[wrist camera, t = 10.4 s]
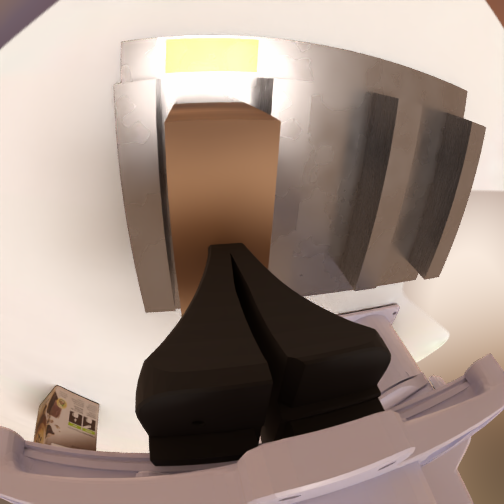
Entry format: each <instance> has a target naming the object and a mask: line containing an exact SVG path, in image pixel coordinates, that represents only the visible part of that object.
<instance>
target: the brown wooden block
mask: <svg viewBox="0 0 504 504" xmlns="http://www.w3.org/2000/svg"><path fill="white" fill-rule="evenodd" d="M164 123H165V151H166V170H167V185H168V199H169V211H170V222H171V233H172V243H173V252H174V260H175V269H176V277H177V284H178V292H179V299H180V306H181V313H182V316H183V314H184V313H185V311H186V309H187V308H188V306H189V304H190V302H191V301H192V299H193V297H194V295H195V293H196V290H197V288H198V286H199V283H200V281H201V278H202V276H203V272H204V269H205V266H206V262H207V258H208V247H209V246H210V245H215V244H230V243H243V244H244V245H245V246H246V247H247V248H248V249H249V250H250V252H251V253H252V254H253V255H254V256H255V257H256V258H257V259H258V260H259V261H260V262H261V263H262V264H263V265H264V266H265V267H266V268H267V269H268V266H269V256H270V245H271V235H272V224H273V213H274V201H275V190H276V178H277V166H278V154H279V142H280V129H281V120H279V119H277V118H275V117H273V116H271V115H269V114H267V113H265V112H263V111H261V110H260V109H258V108H256V107H254V106H252V105H249V104H247V103H245V102H208V103H182V104H174V105H173V106H172V108H171V110H170V112H169V114H168V116H167V118H166V120H165V122H164Z"/></svg>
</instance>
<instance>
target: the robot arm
mask: <svg viewBox="0 0 504 504" xmlns="http://www.w3.org/2000/svg"><path fill="white" fill-rule="evenodd" d="M399 308H400V307H399V306H398V305H397V304H396V305H391V306H386V307H381V308H376V309H371V310H366V311H360V312H355V313H350V314H344V315H339V316H338V315H336V314H334V313H331V312H329V311H327V310H325V309H323V308H321V307H320V306H318V305H316V304H314V303H312V302H311V301H309V300H307V299H306V298H304V297H302V296H301V295H299V294H298V293H297V292H295V291H294V290H292V289H291V288H289V287H288V286H287V285H285V284H284V283H283V282H282V281H280V280H279V279H278V278H277V277H276V276H275V275H273V274H272V273H271V272H270V271H269V270H268V269H267V268H266V267H265V266H264V265H263V264H262V263H261V262H260V261H259V260H258V259H257V258H256V257H255V256H254V255H253V254H252V253H251V252H250V250H249V249H248V248H247V247H246V246H245V245H244V244H243V243H230V244H215V245H210V246H209V247H208V258H207V262H206V266H205V269H204V272H203V276H202V278H201V281H200V283H199V286H198V288H197V290H196V293H195V295H194V297H193V299H192V301H191V302H190V304H189V306H188V308H187V309H186V311H185V313H184V314H183V316H182V317H181V319H180V320H179V322H178V323H177V325H176V326H175V327H174V329H173V330H172V331H171V332H170V334H169V335H168V336H167V337H166V339H165V340H164V341H163V342H162V343H161V345H160V346H159V347H158V348H157V349H156V350H155V351H154V352H153V353H152V354H151V355H150V356H149V357H148V358H147V359H146V360H145V361H144V363H143V366H142V369H141V372H140V376H139V379H138V384H137V389H136V406H135V412H136V415H137V418H138V420H139V421H140V423H141V424H142V426H143V428H144V429H145V431H146V432H147V434H148V435H149V451H150V453H120V452H103V451H91V450H81V449H73V448H65V447H58V446H52V445H46V444H41V443H35V442H30V441H26V440H24V439H23V438H22V437H21V436H20V435H19V434H18V433H16V432H15V431H13V430H11V429H9V428H6V427H2V426H0V498H2V499H4V500H7V501H9V502H11V503H13V504H474V503H473V501H472V499H471V497H470V495H469V492H468V490H467V488H466V486H465V484H464V482H463V480H462V478H461V476H460V474H459V472H458V470H457V468H458V465H459V463H460V461H461V460H462V458H463V456H464V454H465V452H466V450H467V448H468V445H469V443H470V441H471V436H472V435H473V434H475V433H476V432H477V431H479V430H480V429H481V428H483V427H484V426H485V425H487V424H488V423H489V422H490V421H491V420H492V419H494V418H495V417H496V416H497V415H498V414H499V413H500V412H501V411H502V410H503V409H504V371H503V369H502V368H501V367H500V365H499V364H498V362H497V361H496V360H495V359H494V357H493V356H492V354H491V353H489V354H487V355H485V356H484V357H482V358H480V359H478V360H477V361H475V362H474V363H473V364H472V365H471V366H470V367H469V368H468V369H467V371H466V372H465V374H464V375H463V376H461V377H459V378H457V379H455V380H453V381H451V382H449V383H447V384H446V383H445V382H444V380H443V379H442V378H441V377H440V376H435V375H432V376H431V377H429V379H430V381H431V383H432V385H433V388H434V389H435V390H433V388H432V386H431V385H430V383H429V381H428V380H427V378H426V377H425V375H424V373H422V372H421V370H420V369H419V367H418V365H417V364H416V362H415V361H414V359H413V357H412V356H411V354H410V353H409V351H408V350H407V348H406V347H405V345H404V344H403V342H402V340H401V339H400V337H399V336H398V334H397V333H396V331H395V330H394V328H393V327H392V323H393V321H394V319H395V317H396V315H397V313H398V311H399ZM260 436H261V441H262V443H261V444H258V443H259V438H260Z"/></svg>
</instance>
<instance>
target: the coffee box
mask: <svg viewBox="0 0 504 504" xmlns="http://www.w3.org/2000/svg"><path fill="white" fill-rule="evenodd" d="M98 413H99V405H98V404H96V403H94V402H92V401H89V400H87V399H85V398H83V397H80V396H78V395H76V394H74V393H72V392H70V391H68V390H66V389H64V388H62V387H60V386H56V387H55V388H54V389H53V390H52V392H51V393H50V394H49V395H48V396H47V397H46V399H45V400H44V401H43V402H42V403H41V405H40V406H39V411H38V416H37V422H36V428H35V435H34V442H35V443H41V444H46V445H52V446H58V447H65V448H73V449H81V450H91V451H96V440H97V425H98Z"/></svg>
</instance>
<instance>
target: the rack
mask: <svg viewBox="0 0 504 504" xmlns="http://www.w3.org/2000/svg"><path fill="white" fill-rule="evenodd" d="M466 97H467V91H466V90H464V89H462V88H459V87H457V86H455V85H453V84H450V83H448V82H446V81H443V80H441V79H438V78H436V77H433V76H431V75H428V74H425V73H423V72H420V71H417V70H414V69H412V68H409V67H406V66H403V65H400V64H396V63H393V62H390V61H387V60H383V59H380V58H376V57H372V56H369V55H365V54H361V53H357V52H353V51H348V50H344V49H339V48H334V47H329V46H324V45H318V44H313V43H306V42H300V41H292V40H284V39H275V38H265V37H252V36H233V35H189V36H169V37H157V38H146V39H138V40H130V41H123V42H121V83H118V84H114V102H115V122H116V136H117V148H118V158H119V168H120V177H121V185H122V192H123V200H124V206H125V213H126V219H127V225H128V231H129V237H130V242H131V248H132V253H133V258H134V263H135V268H136V273H137V277H138V282H139V286H140V291H141V295H142V299H143V303H144V307H145V311H146V313H148V312H164V311H175V309H180V308H181V306H180V299H179V292H178V284H177V277H176V269H175V260H174V252H173V243H172V233H171V222H170V211H169V199H168V185H167V170H166V151H165V123H164V122H165V120H166V118H167V116H168V114H169V112H170V110H171V108H172V106H173V105H174V104H182V103H208V102H245V103H247V104H249V105H252V106H254V107H256V108H258V109H260V110H261V111H263V112H265V113H267V114H269V115H271V116H273V117H275V118H277V119H279V120H281V129H280V142H279V154H278V166H277V178H276V190H275V201H274V213H273V224H272V235H271V245H270V256H269V266H268V270H269V271H270V272H271V273H272V274H273V275H275V276H276V277H277V278H278V279H279V280H280V281H282V282H283V283H284V284H285V285H287V286H288V287H289V288H291V289H292V290H294V291H295V292H297V293H298V294H299V295H301V296H310V295H318V294H325V293H333V292H340V291H347V290H354V291H358V290H365V289H371V288H376V286H380V285H387V284H393V283H399V282H405V281H411V280H416V278H417V275H418V273H419V274H420V275H421V276H422V277H423V278H424V279H430V278H435V277H439V275H440V273H441V271H442V268H443V266H444V264H445V261H446V259H447V257H448V254H449V252H450V249H451V247H452V244H453V241H454V239H455V236H456V233H457V231H458V228H459V225H460V222H461V219H462V216H463V214H464V211H465V207H466V205H467V201H468V198H469V195H470V192H471V188H472V185H473V181H474V177H475V174H476V170H477V166H478V162H479V158H480V154H481V149H482V145H483V140H484V135H485V130H486V127H484V126H482V125H479V124H477V123H474V122H472V121H469V120H466V119H464V118H463V117H464V111H465V105H466Z"/></svg>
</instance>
